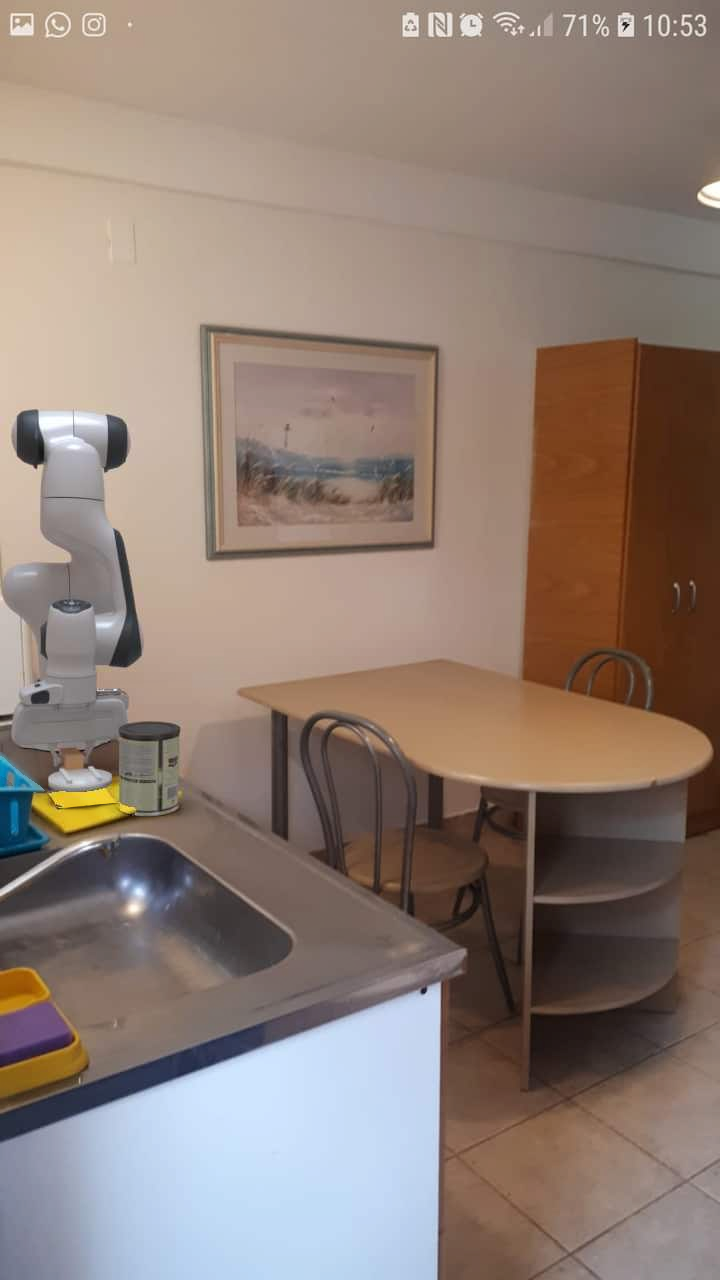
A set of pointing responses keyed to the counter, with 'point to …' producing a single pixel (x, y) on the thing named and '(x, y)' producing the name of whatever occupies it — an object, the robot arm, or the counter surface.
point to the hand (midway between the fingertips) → (70, 765)
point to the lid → (77, 774)
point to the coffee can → (149, 767)
